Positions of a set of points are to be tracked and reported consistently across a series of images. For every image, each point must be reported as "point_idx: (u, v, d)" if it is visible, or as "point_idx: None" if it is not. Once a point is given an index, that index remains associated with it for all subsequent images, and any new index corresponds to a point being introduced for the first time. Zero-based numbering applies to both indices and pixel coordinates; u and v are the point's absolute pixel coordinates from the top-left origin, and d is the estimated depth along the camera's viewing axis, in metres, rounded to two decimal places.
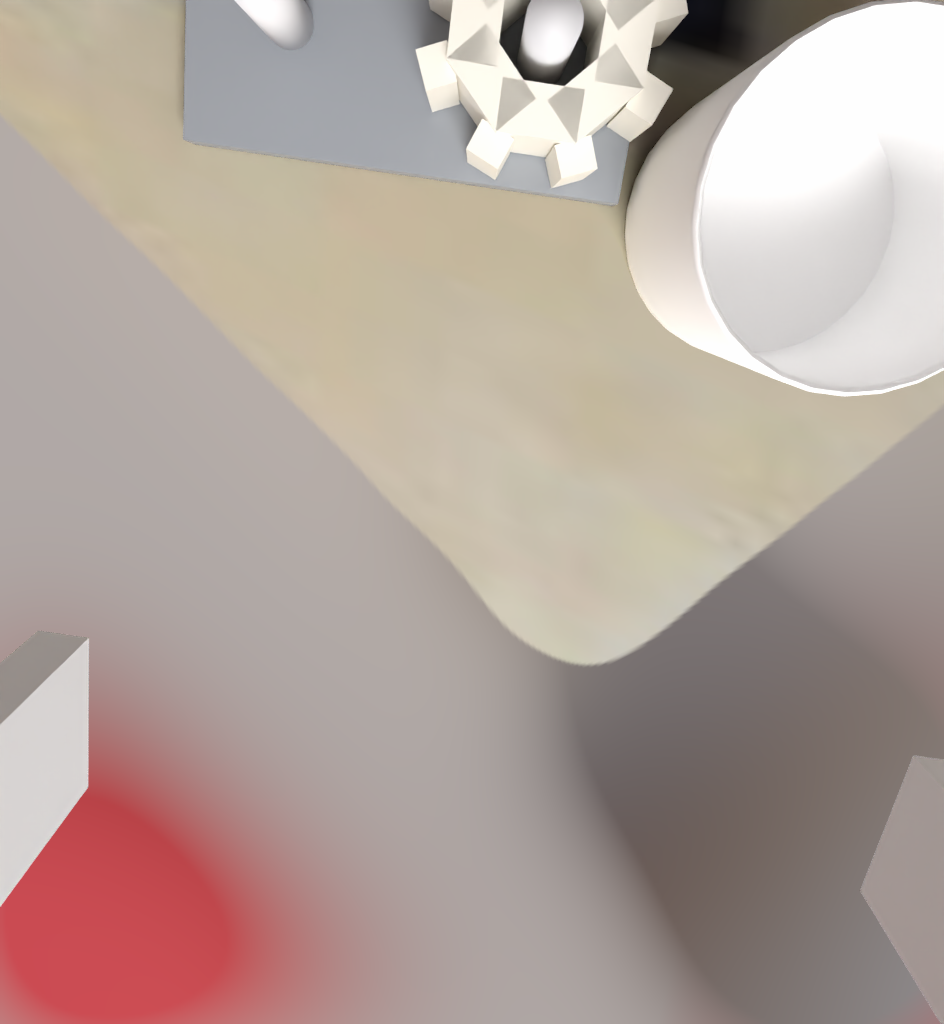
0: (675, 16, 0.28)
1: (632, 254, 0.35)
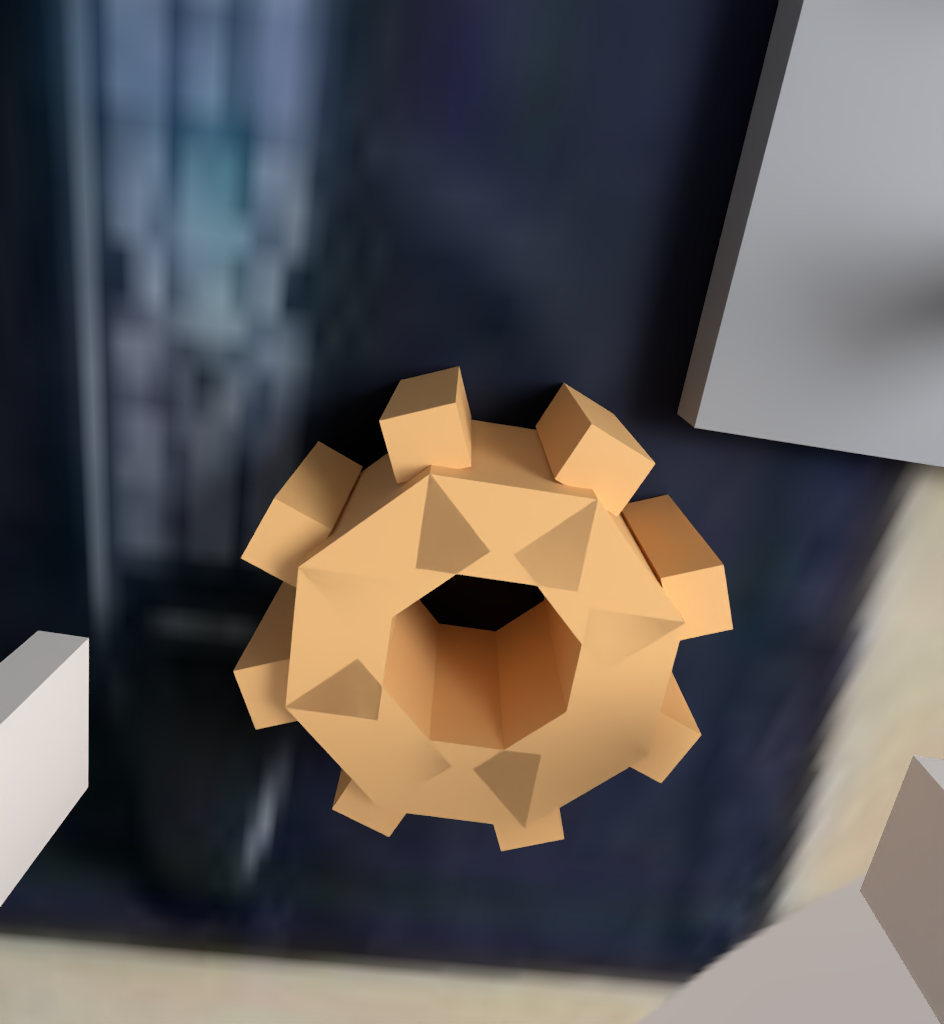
0: None
1: None
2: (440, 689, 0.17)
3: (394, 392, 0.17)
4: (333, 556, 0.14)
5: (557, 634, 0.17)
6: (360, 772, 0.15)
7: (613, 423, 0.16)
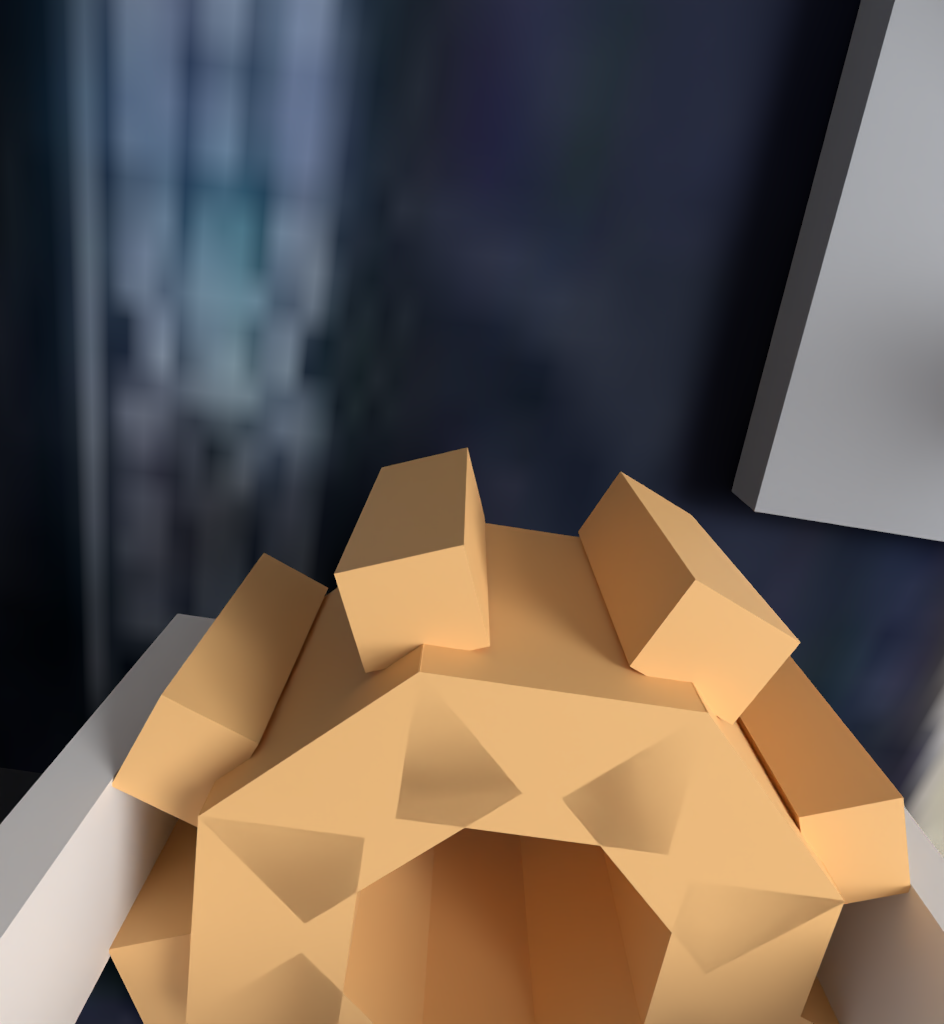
0: None
1: None
2: (438, 941, 0.11)
3: (369, 496, 0.11)
4: (255, 800, 0.08)
5: None
6: None
7: (706, 547, 0.10)
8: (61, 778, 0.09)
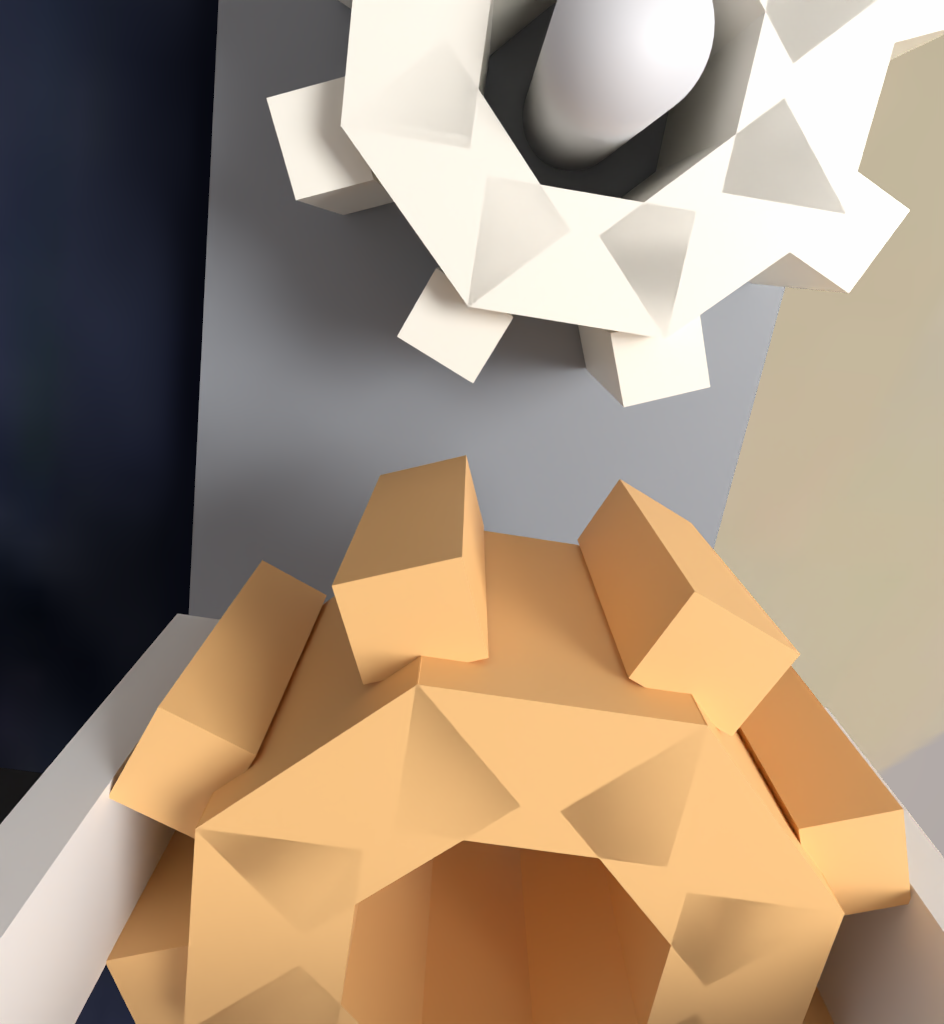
0: None
1: None
2: (437, 950, 0.11)
3: (367, 504, 0.11)
4: (252, 813, 0.08)
5: None
6: None
7: (706, 556, 0.10)
8: (62, 778, 0.09)
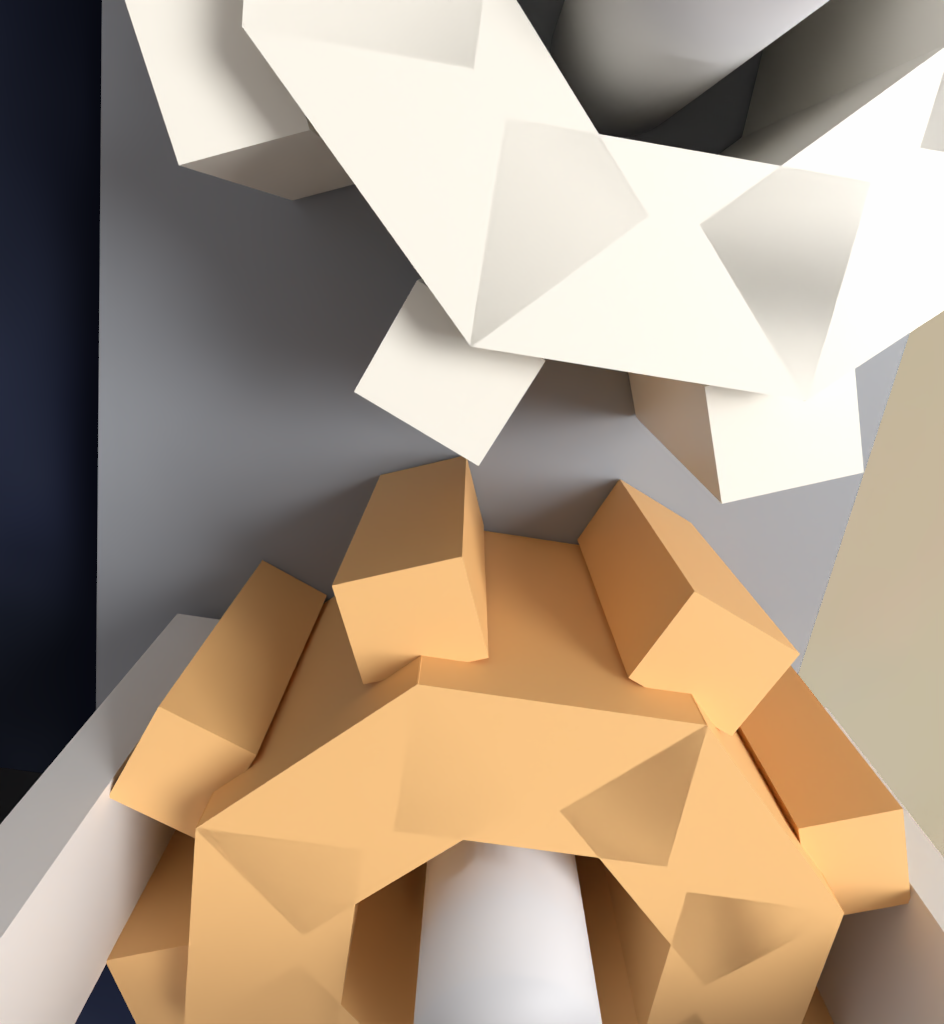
0: None
1: None
2: None
3: (367, 504, 0.11)
4: (252, 812, 0.08)
5: None
6: None
7: (705, 556, 0.10)
8: (62, 778, 0.09)
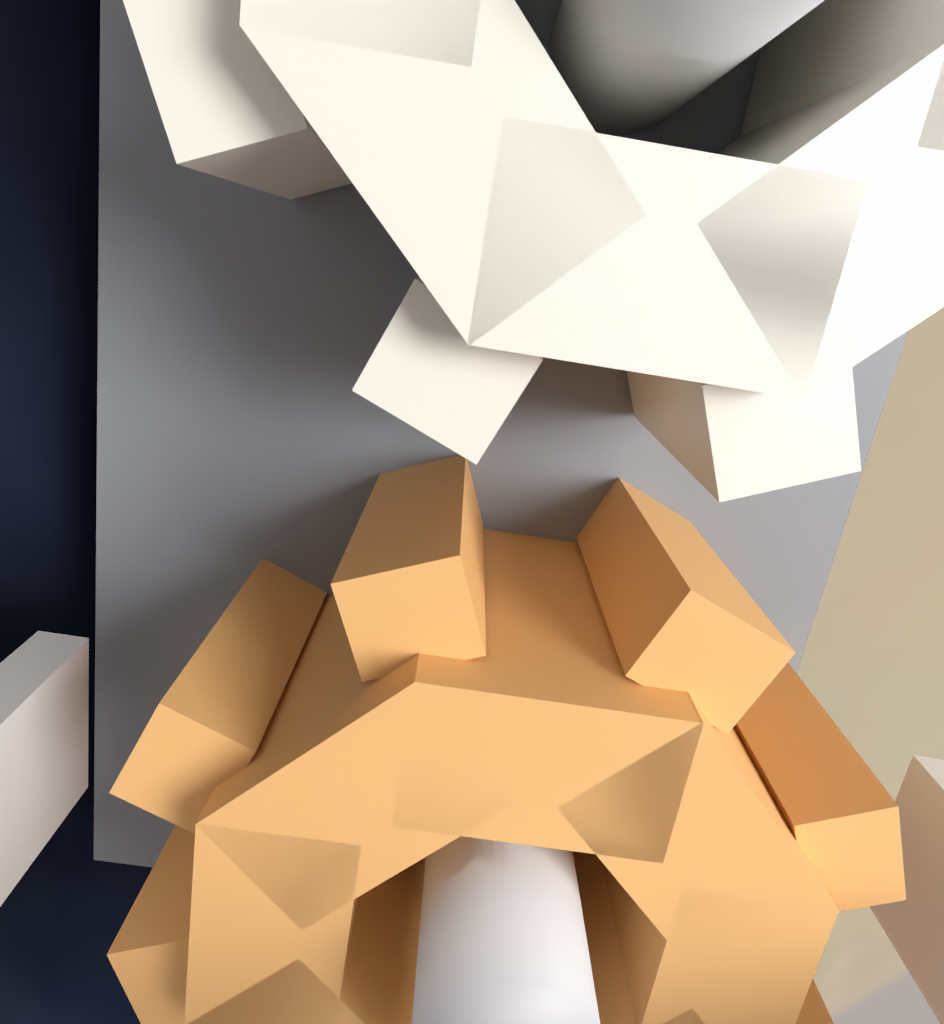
0: None
1: None
2: None
3: (367, 503, 0.11)
4: (253, 808, 0.08)
5: None
6: None
7: (703, 554, 0.10)
8: None
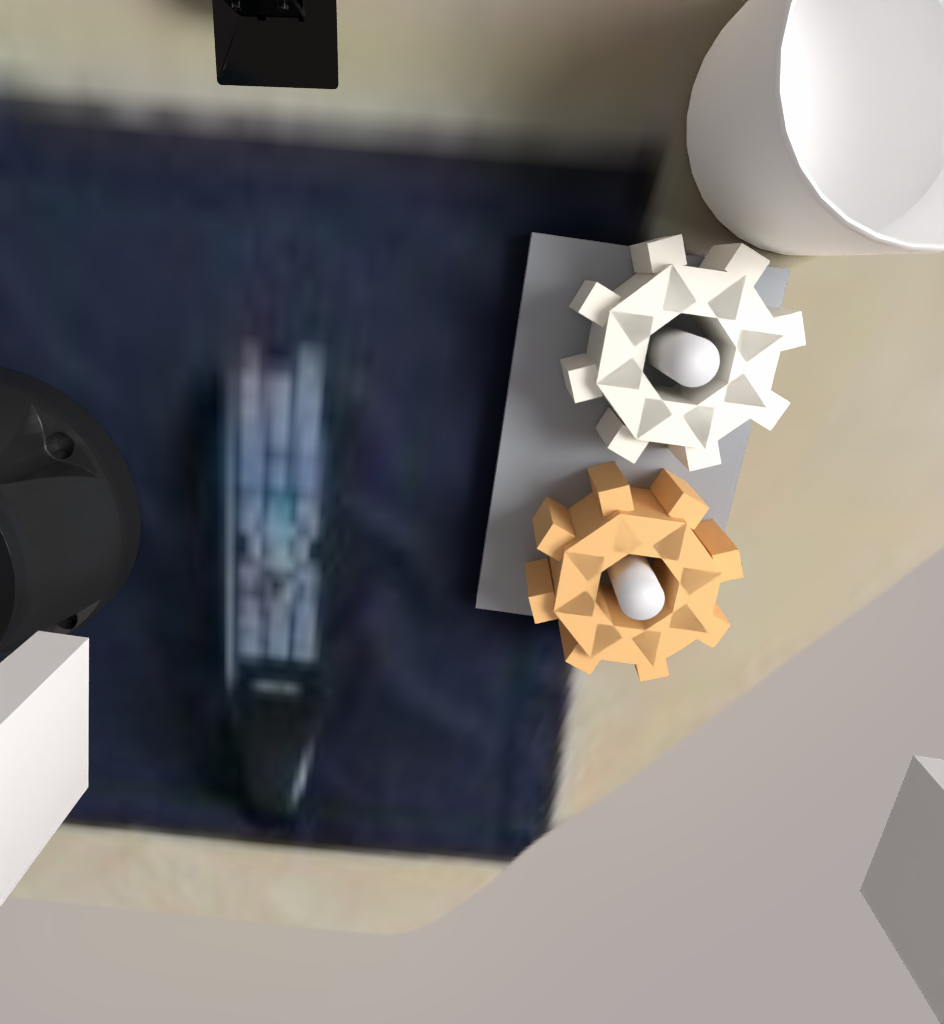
0: (683, 245, 0.31)
1: None
2: (611, 609, 0.38)
3: (590, 476, 0.37)
4: (579, 547, 0.35)
5: (663, 583, 0.38)
6: (583, 640, 0.36)
7: (689, 488, 0.37)
8: None
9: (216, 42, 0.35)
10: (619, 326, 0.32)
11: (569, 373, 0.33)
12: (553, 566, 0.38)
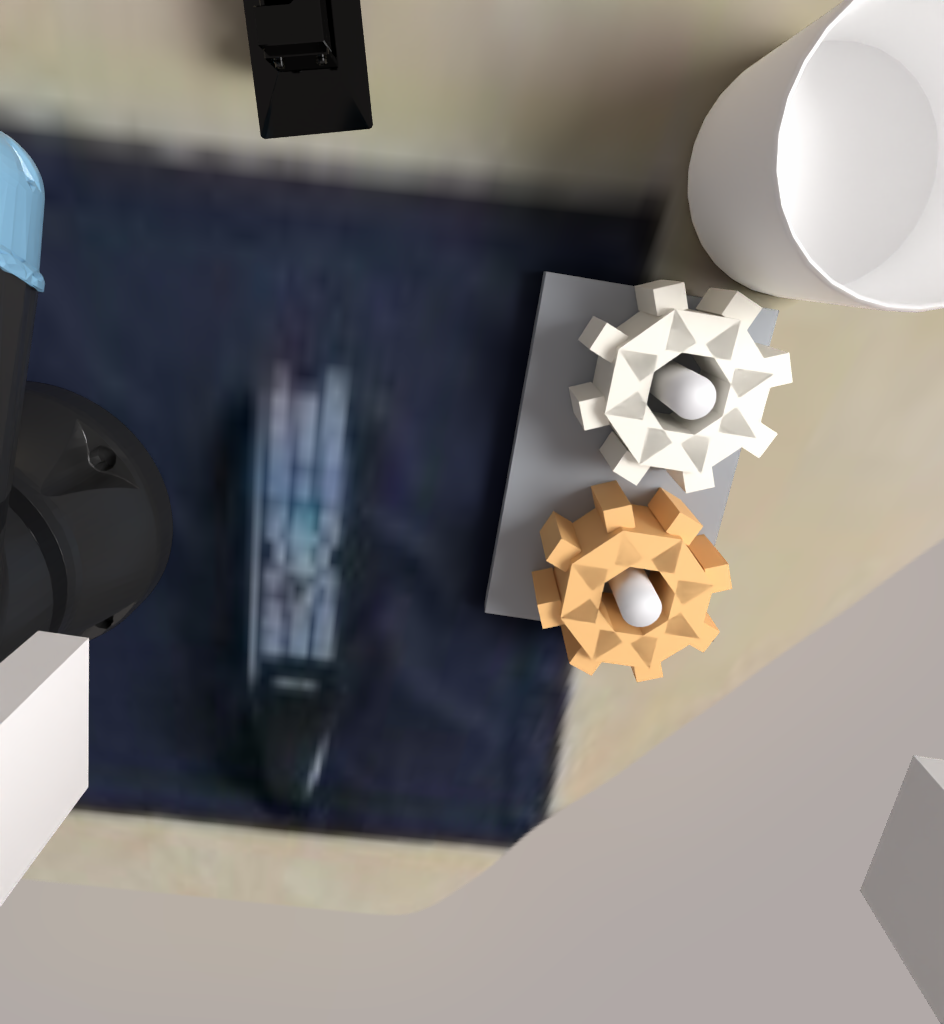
0: (685, 292, 0.35)
1: None
2: (611, 615, 0.41)
3: (595, 494, 0.41)
4: (585, 560, 0.38)
5: (659, 593, 0.41)
6: (586, 644, 0.40)
7: (684, 507, 0.40)
8: None
9: (258, 97, 0.38)
10: (626, 363, 0.35)
11: (580, 403, 0.36)
12: (559, 576, 0.42)
